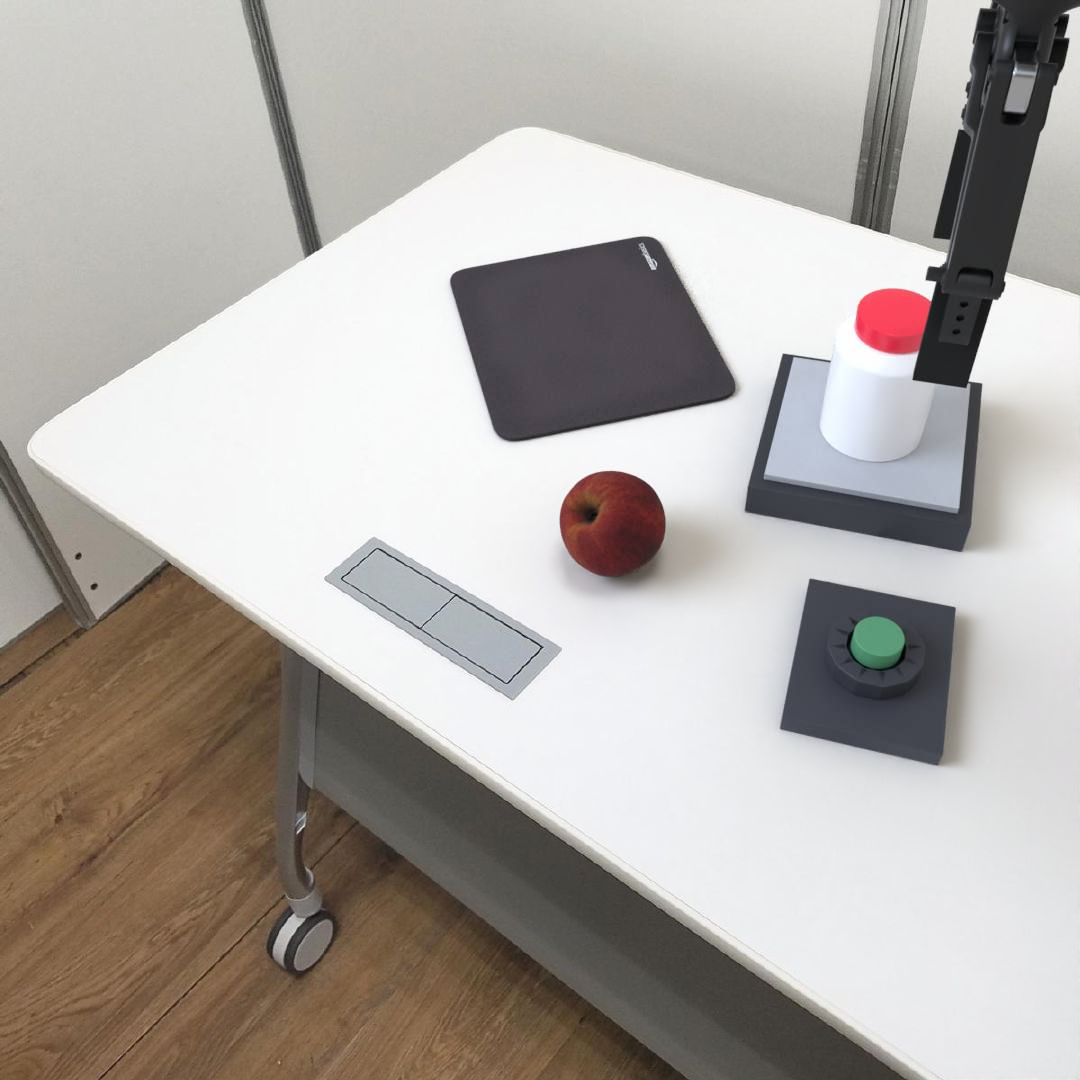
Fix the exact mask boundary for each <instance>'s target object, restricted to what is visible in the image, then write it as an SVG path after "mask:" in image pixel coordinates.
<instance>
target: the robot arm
mask: <svg viewBox="0 0 1080 1080" xmlns="http://www.w3.org/2000/svg"><path fill="white" fill-rule="evenodd" d="M1077 8H1080V0H991V2H990V6H989V7H979V10H978V14H977V18H976V22H975V28H974V31H973V37H972V45H973V47H972V52H971V57H970V62H969V73H970V79H969V81H966V84H965V90H964V91H965V93H966V97H965V98H966V99H967V101H966V103H965V104H964V107H963V108H962V109H961V110H962V111H961V115H960V118H961V120H962V121H961V125H962V128H963V129H958V130H957V134H956V137H955V142H954V146H953V151H952V155H951V159H950V164H949V166H948V170H947V176H946V179H945V183H944V188H943V191H942V196H941V200H940V205H939V208H938V213H937V216H936V221H935V224H934V229H933V235H932V239H939V240H947V241H949V243H948V247H947V253H946V258H945V261H944V262H943V263H942V264H941V265H940V266H932V265H928V267H927V269H926V274H925V278H924V279H925V281H926V282H935V285H934V288H933V292H932V297H931V300H930V301H931V304H930V308H929V312H928V316H927V320H926V324H925V328H924V332H923V336H922V340H921V344H920V348H919V352H918V356H917V360H916V364H915V368H914V372H913V379H912V380H914V381H921V382H927V383H934V384H941V385H947V386H954V387H961V388H967V385H968V381H970V378H971V375H972V371H973V368H974V364H975V362H976V358H977V355H978V352H979V348H980V345H981V341H982V338H983V334H984V331H985V329H986V325H987V322H988V318H989V315H990V311H991V309H992V305H993V302H994V301H999V299H1001V297H1002V294H1003V293H1004V292H1005V288H1006V285H1007V284H1006V283H1007V282H1006V281H1005V278H1006V273H1007V270H1008V265H1009V261H1010V258H1011V253H1012V250H1013V246H1014V243H1015V242H1014V241H1015V237H1016V233H1017V228H1018V225H1019V221H1020V217H1021V214H1022V209H1023V205H1024V200H1025V196H1026V192H1027V188H1028V186H1029V185H1028V184H1029V182H1030V181H1029V180H1030V176H1031V172H1032V168H1033V164H1034V161H1035V160H1034V159H1035V156H1036V153H1037V148H1038V143H1039V139H1040V137H1041V133H1042V131H1043V130H1044V128H1045V126H1046V123H1047V118H1048V114H1049V109H1050V105H1051V100H1052V95H1053V90H1054V87H1056V86H1057V85H1058V82H1059V77H1060V74H1061V73H1062V72H1063V70H1064V67H1065V64H1066V61H1067V60H1066V59H1067V56H1068V51H1069V47H1070V37H1065V36H1066V33H1067V30H1068V25H1069V22H1070V14H1069V13H1067V12H1069V11H1071V10H1073V9H1077Z"/></svg>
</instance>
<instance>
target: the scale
mask: <svg viewBox="0 0 1080 1080" xmlns="http://www.w3.org/2000/svg"><path fill="white" fill-rule="evenodd" d="M830 363H831V359H823V358H817V357H810V356H803V355H796V354H790V353H789V354H788V353H782V355H781V358H780V363H779V367H778V369H777V374H776V377H775V381H774V385H773V388H772V392H771V397H770V400H769V404H768V408H767V412H766V416H765V418H764V419H765V420H764V424H763V426H762V431H761V435H760V438H759V439H760V440H759V443H758V445H757V451H756V453H755V458H754V462H753V465H752V469H751V473H750V477H749V481H748V484H747V489H746V498H745V507H744V512H746V513H752V514H757V515H762V516H768V517H773V518H778V519H783V520H789V521H794V522H800V523H805V524H809V525H810V524H811V525H816V526H822V527H827V528H830V529H831V528H832V529H838V530H841V531H842V530H843V531H848V532H853V533H859V534H865V535H868V536H869V535H870V536H874V537H875V536H876V537H879V538H880V537H881V538H885V539H891V540H897V541H900V542H901V541H902V542H908V543H912V544H918V545H922V546H928V547H935V548H939V549H944V550H945V549H946V550H950V551H956V552H960V553H961V552H963V549H964V547H965V544H966V541H967V539H968V536H969V533H970V531H971V528H972V520H973V519H972V518H973V507H974V506H973V504H974V492H975V479H976V470H977V469H976V468H977V456H978V455H977V454H978V443H979V433H980V432H979V430H980V419H981V406H982V395H983V393H982V392H983V382H975V381H971V380H969V381H968V385H967V388H961V387H954V386H947V385H941V384H937V387H936V390H935V394H934V397H933V401H932V404H931V408H930V411H929V415H928V418H927V422H926V425H925V429H924V432H923V436H922V439H921V441H920V443H919V445H918V446H917V447H916V449H915V450H914V451H912V452H911V453H910V454H908V455H906V456H904V457H902V458H899V459H896V460H892V461H885V462H870V461H863V460H859V459H855V458H852V457H849V456H847V455H845V454H843V453H841V452H839V451H838V450H836V449H835V448H833V447H832V446H831V445H830V444H829V443H828V442H827V441H826V439H825V438H824V436H823V434H822V432H821V430H820V423H819V422H820V416H821V411H822V405H823V400H824V395H825V389H826V384H827V379H828V374H829V368H830Z"/></svg>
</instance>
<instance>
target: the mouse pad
mask: <svg viewBox="0 0 1080 1080" xmlns="http://www.w3.org/2000/svg"><path fill="white" fill-rule="evenodd" d="M449 283H450V288H451V291H452V295H453V298H454V301H455V305H456V308H457V311H458V314H459V318H460V322H461V325H462V328H463V332H464V335H465V338H466V342H467V345H468V348H469V351H470V354H471V359H472V361H473V365H474V368H475V370H476V375H477V378H478V382H479V384H480V388H481V392H482V395H483V398H484V401H485V404H486V405H485V406H486V408H487V411H488V414H489V418H490V421H491V425H492V427H493V431H494V432H495V433H496V435H497V436H499V438H501V439H503V440H507V441H519V440H525V439H530V438H535V437H541V436H545V435H550V434H555V433H560V432H566V431H570V430H575V429H581V428H585V427H589V426H591V427H592V426H596V425H600V424H605V423H610V422H615V421H620V420H626V419H630V418H635V417H639V416H645V415H650V414H655V413H659V412H664V411H669V410H674V409H678V408H683V407H684V408H685V407H689V406H695V405H699V404H703V403H709V402H715V401H718V400H723V399H726V398H728V397H730V396H731V395H733V393H735V391H736V381H735V378H734V377H733V375H732V373H731V371H730V368H729V367H728V365H727V363H726V361H725V360H724V358H723V356H722V354H721V352H720V351H719V349H718V346H717V345H716V343H715V341H714V339H713V337H712V336H711V333H710V332H709V330H708V328H707V326H706V324H705V322H704V320H703V319H702V317H701V315H700V313H699V312H698V310H697V307H696V306H695V304H694V302H693V300H692V299H691V296H690V294H689V293H688V291H687V288H686V287H685V286H684V284H683V282H682V280H681V277H680V276H679V274H678V273H677V271H676V268H675V267H674V265H673V263H672V261H671V259H670V258H669V256H668V254H667V252H666V251H665V248H664V247H663V245H662V243H661V242H660V241H659V240H658V239H656V238H655V237H653V236H649V235H648V236H647V235H642V236H641V235H640V236H634V237H628V238H623V239H622V238H621V239H617V240H612V241H605V242H601V243H596V244H590V245H585V246H584V245H583V246H578V247H574V248H567V249H563V250H557V251H551V252H547V253H541V254H536V255H529V256H525V257H520V258H515V259H508V260H504V261H497V262H493V263H486V264H481V265H476V266H471V267H470V266H469V267H465V268H462V269H459V270H457V271H454V272H453V273H452V274H451V276H450V279H449Z"/></svg>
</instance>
